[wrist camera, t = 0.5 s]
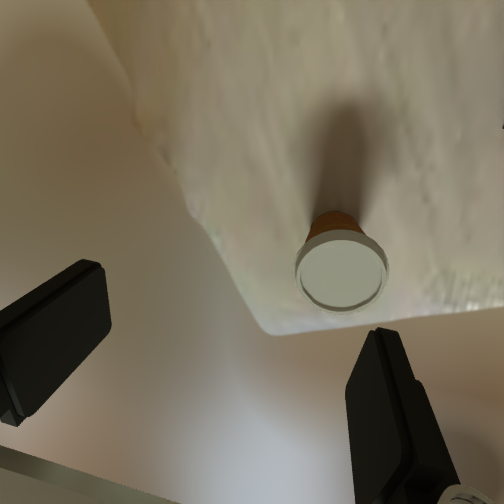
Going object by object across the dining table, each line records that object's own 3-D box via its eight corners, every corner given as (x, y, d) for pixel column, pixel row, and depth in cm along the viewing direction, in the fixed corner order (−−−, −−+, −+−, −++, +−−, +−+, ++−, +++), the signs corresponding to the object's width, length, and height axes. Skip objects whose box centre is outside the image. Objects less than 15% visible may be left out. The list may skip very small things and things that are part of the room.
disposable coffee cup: (387, 223, 37) (415, 269, 27) (341, 276, 42) (349, 332, 31) (324, 185, 37) (327, 216, 26) (285, 242, 41) (274, 288, 31)
